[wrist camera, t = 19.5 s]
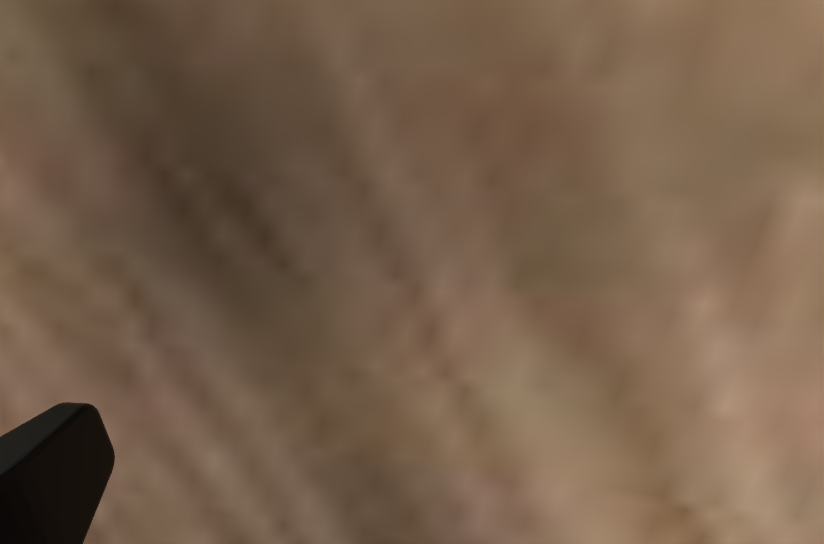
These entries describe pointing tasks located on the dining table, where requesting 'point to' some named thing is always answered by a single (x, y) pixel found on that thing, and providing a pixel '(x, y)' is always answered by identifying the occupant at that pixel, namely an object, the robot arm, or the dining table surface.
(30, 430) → the robot arm
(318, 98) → the dining table surface
